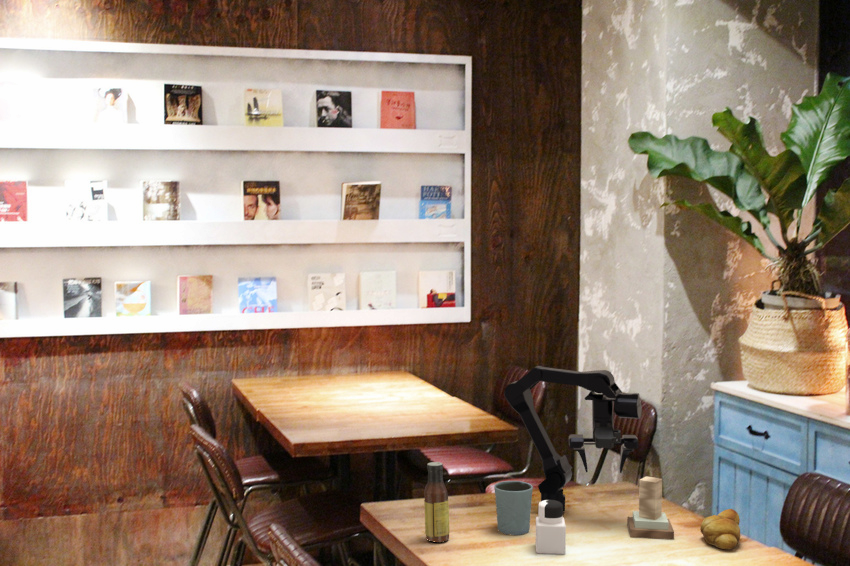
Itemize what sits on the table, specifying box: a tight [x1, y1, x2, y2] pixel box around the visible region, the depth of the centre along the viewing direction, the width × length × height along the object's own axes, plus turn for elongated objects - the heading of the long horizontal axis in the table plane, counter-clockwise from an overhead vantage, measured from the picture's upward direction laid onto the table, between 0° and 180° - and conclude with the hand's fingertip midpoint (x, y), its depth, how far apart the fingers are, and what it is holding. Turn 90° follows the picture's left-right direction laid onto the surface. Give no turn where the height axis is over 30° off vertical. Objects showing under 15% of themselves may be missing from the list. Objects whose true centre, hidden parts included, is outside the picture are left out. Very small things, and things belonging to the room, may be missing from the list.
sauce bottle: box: [423, 461, 450, 543], centre depth 225 cm, size 7×6×20 cm
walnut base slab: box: [626, 516, 675, 540], centre depth 232 cm, size 11×11×2 cm
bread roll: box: [700, 508, 741, 550], centre depth 223 cm, size 13×10×8 cm
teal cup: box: [493, 480, 534, 536], centre depth 233 cm, size 10×10×12 cm
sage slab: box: [632, 510, 669, 530], centre depth 232 cm, size 8×8×2 cm
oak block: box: [638, 476, 663, 520], centre depth 232 cm, size 4×4×10 cm
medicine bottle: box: [535, 500, 567, 555], centre depth 218 cm, size 7×7×12 cm
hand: (603, 472), depth 242 cm, fingers open, 9 cm apart
